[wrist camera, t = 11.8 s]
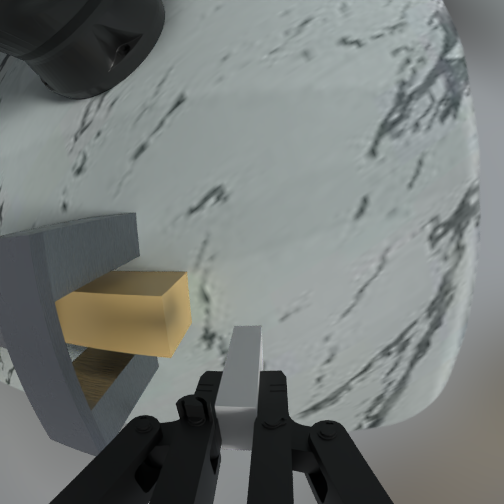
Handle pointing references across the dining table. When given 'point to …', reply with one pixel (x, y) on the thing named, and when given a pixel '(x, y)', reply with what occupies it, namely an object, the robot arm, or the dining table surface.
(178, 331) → the plug
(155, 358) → the grey rectangular arch
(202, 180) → the dining table surface
